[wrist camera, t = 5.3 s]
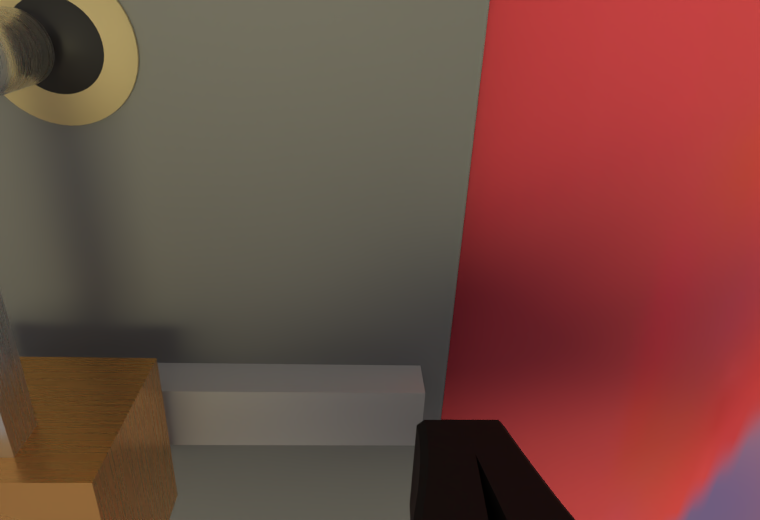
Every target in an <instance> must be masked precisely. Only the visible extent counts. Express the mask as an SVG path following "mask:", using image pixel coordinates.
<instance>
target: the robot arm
mask: <svg viewBox="0 0 760 520" xmlns="http://www.w3.org/2000/svg"><path fill="white" fill-rule="evenodd" d="M409 505H410V520H575V519H574V518H573V517H572V515H571V514H570V513H569V512H568V511H567V509H566V508H565V507H564V506H563V504H562V503H561V502H560V501H559V499H558V498H557V497H556V496H555V494H554V493H553V492H552V490H551V489H550V488H549V487H548V485H547V484H546V483H545V481H544V480H543V479H542V477H541V476H540V475H539V473H538V472H537V471H536V470H535V468H534V467H533V466H532V464H531V463H530V461H529V460H528V459H527V457H526V456H525V455H524V453H523V452H522V451H521V449H520V448H519V446H518V445H517V444H516V442H515V441H514V439H513V438H512V437H511V435H510V434H509V433H508V431H507V430H506V428H505V427H504V426H503V425H502V423H501V422H500V421H499V420H423V421H422V422H420V423H419V424H418V425H417V427H416V438H415V449H414V460H413V471H412V482H411V493H410V504H409Z"/></svg>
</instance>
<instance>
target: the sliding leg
mask: <svg viewBox="0 0 760 520" xmlns="http://www.w3.org/2000/svg"><path fill="white" fill-rule="evenodd" d="M53 65H54V48H53V44H52V41H51V39H50V37H49V35H48V33H47V31H46V30H45V28H44V27H43V26H42V25H41V24H40V23H39V22H38V21H37V20H36V19H35V18H34V17H33V16H31V15H30V14H28V13H26V12H24V11H22V10H20V9H17V8H13V7H7V6H2V7H0V96H2V95H5V94H8V93H11V92H14V91H17V90H20V89H23V88H26V87H29V86H32V85H35V84H38V83H40V82H42V81H43V80H45V79H46V78H47V77H48V75H49V74H50V72H51V70H52V68H53ZM177 495H178V493H177V487H176V480H175V474H174V467H173V461H172V454H171V448H170V441H169V435H168V428H167V422H166V415H165V409H164V402H163V396H162V389H161V383H160V376H159V370H158V363H157V358H96V357H19V355H18V351H17V347H16V344H15V340H14V337H13V333H12V330H11V326H10V323H9V319H8V315H7V312H6V308H5V305H4V301H3V298H2V294H1V291H0V520H169V519H170V516H171V513H172V510H173V507H174V504H175V501H176V498H177Z"/></svg>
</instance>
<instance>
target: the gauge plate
mask: <svg viewBox="0 0 760 520" xmlns="http://www.w3.org/2000/svg"><path fill="white" fill-rule="evenodd" d="M489 1H490V0H0V7H2V6H7V7H13V8H17V9H20V10H22V11H24V12H26V13H28V14H30V15H31V16H33V17H34V18H35V19H36V20H37V21H38V22H39V23H40V24H41V25H42V26H43V27H44V28H45V30H46V31H47V33H48V35H49V37H50V39H51V41H52V44H53V48H54V65H53V68H52V70H51V72H50V74H49V75H48V77H47V78H46V79H45V80H43V81H42V82H40V83H38V84H35V85H32V86H29V87H26V88H23V89H20V90H17V91H14V92H11V93H8V94H5V95H2V96H0V291H1V294H2V298H3V301H4V305H5V308H6V312H7V315H8V319H9V323H10V326H11V330H12V333H13V337H14V340H15V344H16V347H17V351H18V355H19V357H96V358H157V363H158V370H159V376H160V383H161V389H162V396H163V402H164V409H165V415H166V422H167V428H168V435H169V441H170V448H171V454H172V461H173V467H174V474H175V480H176V487H177V493H178V495H177V498H176V501H175V504H174V507H173V510H172V513H171V516H170V519H169V520H410V505H409V504H410V493H411V482H412V471H413V460H414V449H415V438H416V427H417V425H418V424H419V423H420V422H422V421H423V420H441V414H442V405H443V396H444V388H445V379H446V371H447V362H448V353H449V345H450V336H451V328H452V319H453V311H454V302H455V293H456V285H457V276H458V268H459V259H460V250H461V242H462V233H463V225H464V216H465V207H466V199H467V190H468V182H469V173H470V164H471V156H472V147H473V139H474V130H475V121H476V113H477V104H478V96H479V87H480V78H481V70H482V61H483V53H484V44H485V35H486V27H487V18H488V10H489Z"/></svg>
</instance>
